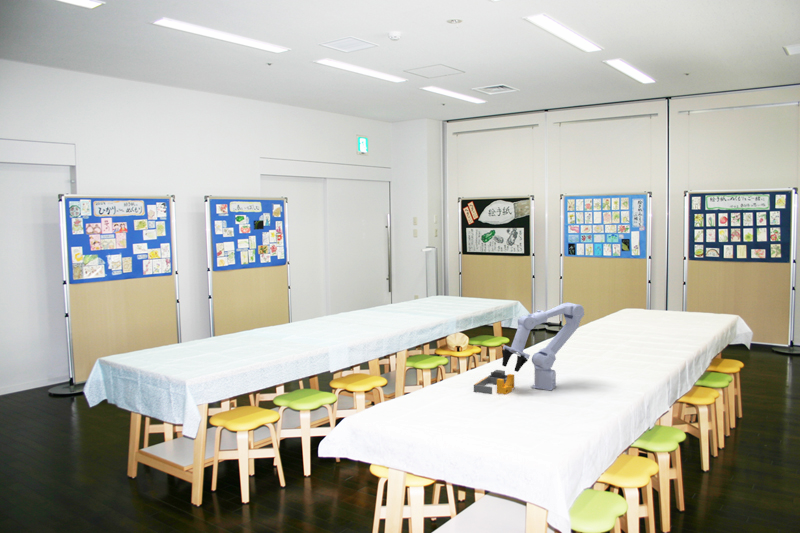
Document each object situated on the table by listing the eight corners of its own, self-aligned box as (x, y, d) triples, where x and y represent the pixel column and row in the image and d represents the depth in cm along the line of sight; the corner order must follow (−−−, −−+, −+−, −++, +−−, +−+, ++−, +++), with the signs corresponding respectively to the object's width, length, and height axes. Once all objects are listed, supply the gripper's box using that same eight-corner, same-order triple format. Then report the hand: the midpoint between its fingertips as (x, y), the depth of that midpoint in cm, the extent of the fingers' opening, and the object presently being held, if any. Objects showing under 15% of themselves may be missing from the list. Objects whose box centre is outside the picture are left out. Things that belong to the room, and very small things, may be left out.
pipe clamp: (505, 394, 266) (505, 380, 266) (496, 393, 269) (496, 379, 269) (517, 388, 276) (517, 375, 275) (509, 387, 278) (509, 373, 278)
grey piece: (511, 381, 287) (511, 370, 287) (493, 394, 267) (493, 382, 267) (492, 379, 292) (492, 368, 292) (473, 391, 272) (473, 379, 272)
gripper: (503, 334, 275) (493, 362, 274) (526, 343, 264) (516, 372, 263) (512, 338, 279) (502, 365, 279) (535, 346, 268) (525, 374, 267)
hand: (510, 368), depth 271 cm, fingers open, 7 cm apart
